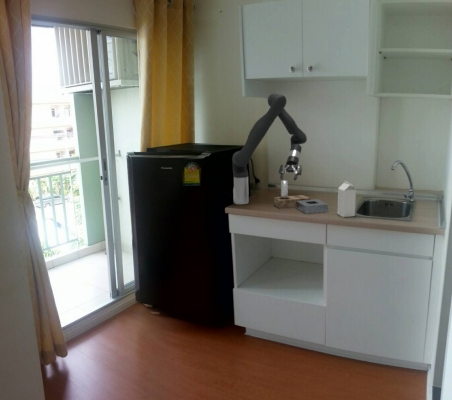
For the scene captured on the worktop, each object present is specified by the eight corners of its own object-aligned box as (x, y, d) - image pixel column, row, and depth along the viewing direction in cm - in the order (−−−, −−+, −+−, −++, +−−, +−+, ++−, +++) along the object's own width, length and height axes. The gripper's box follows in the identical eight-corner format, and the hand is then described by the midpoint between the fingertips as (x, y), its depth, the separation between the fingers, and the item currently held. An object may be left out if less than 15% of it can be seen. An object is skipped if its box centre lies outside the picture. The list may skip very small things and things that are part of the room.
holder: (305, 213, 236) (305, 206, 235) (296, 208, 250) (296, 200, 249) (328, 211, 239) (328, 204, 238) (317, 206, 252) (317, 199, 251)
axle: (282, 207, 253) (282, 181, 249) (280, 205, 257) (280, 180, 253) (288, 206, 254) (288, 181, 250) (286, 205, 258) (286, 179, 254)
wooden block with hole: (279, 208, 249) (279, 200, 248) (274, 204, 259) (273, 197, 258) (310, 206, 253) (310, 198, 252) (303, 202, 263) (303, 194, 262)
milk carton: (343, 217, 227) (344, 183, 222) (337, 214, 233) (338, 181, 229) (354, 216, 228) (356, 182, 224) (348, 213, 235) (350, 180, 231)
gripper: (281, 154, 266) (275, 175, 258) (303, 155, 260) (298, 176, 252) (284, 162, 272) (278, 182, 264) (305, 162, 266) (300, 183, 258)
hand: (288, 179), depth 258 cm, fingers open, 8 cm apart
